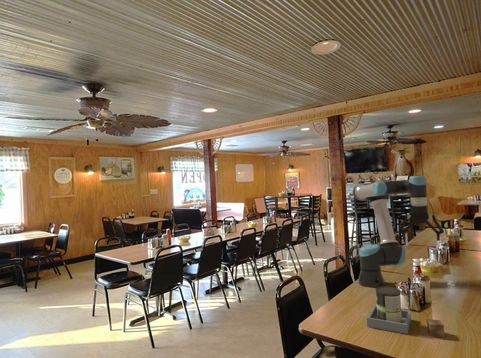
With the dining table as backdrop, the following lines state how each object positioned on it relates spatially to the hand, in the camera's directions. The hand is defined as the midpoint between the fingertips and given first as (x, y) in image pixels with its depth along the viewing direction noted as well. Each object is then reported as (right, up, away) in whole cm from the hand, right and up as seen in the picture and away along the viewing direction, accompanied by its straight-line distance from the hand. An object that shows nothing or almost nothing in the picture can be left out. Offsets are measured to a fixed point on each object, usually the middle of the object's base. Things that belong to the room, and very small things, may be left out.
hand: (421, 246), depth 169 cm
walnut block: (-13, -29, -35) cm, 47 cm away
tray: (-27, -30, -22) cm, 46 cm away
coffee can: (-27, -29, -23) cm, 46 cm away
